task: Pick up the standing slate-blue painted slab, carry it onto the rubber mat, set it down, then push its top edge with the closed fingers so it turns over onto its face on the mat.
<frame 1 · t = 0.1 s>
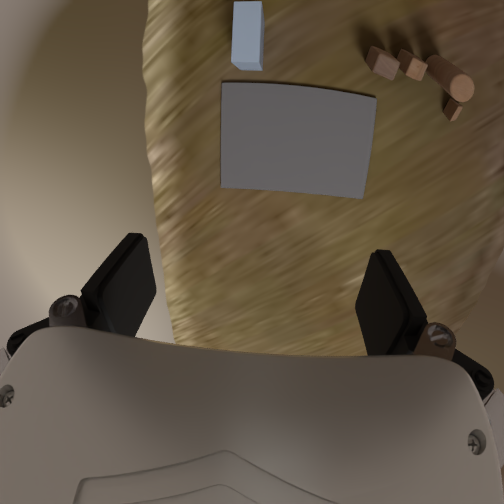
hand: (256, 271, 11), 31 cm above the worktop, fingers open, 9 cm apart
slab: (252, 45, 30), on the worktop
wooden block set: (417, 75, 29), on the worktop
mat: (298, 139, 37), on the worktop
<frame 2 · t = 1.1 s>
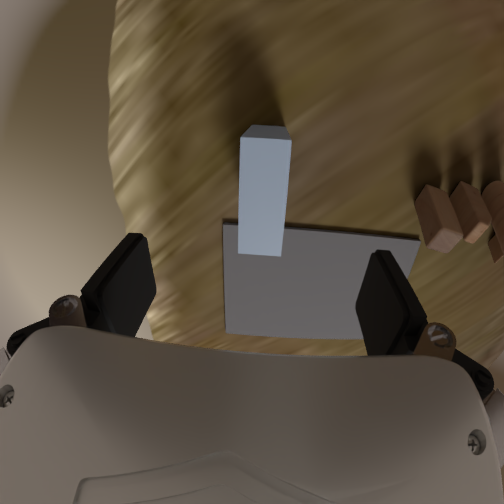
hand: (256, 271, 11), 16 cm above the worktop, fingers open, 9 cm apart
slab: (266, 167, 25), on the worktop
wooden block set: (470, 207, 25), on the worktop
mat: (318, 290, 32), on the worktop
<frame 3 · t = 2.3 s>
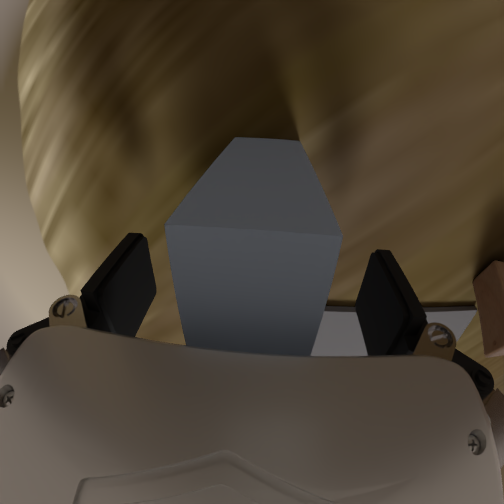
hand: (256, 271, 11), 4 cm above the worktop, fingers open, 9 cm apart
slab: (263, 215, 14), on the worktop
mat: (334, 372, 21), on the worktop
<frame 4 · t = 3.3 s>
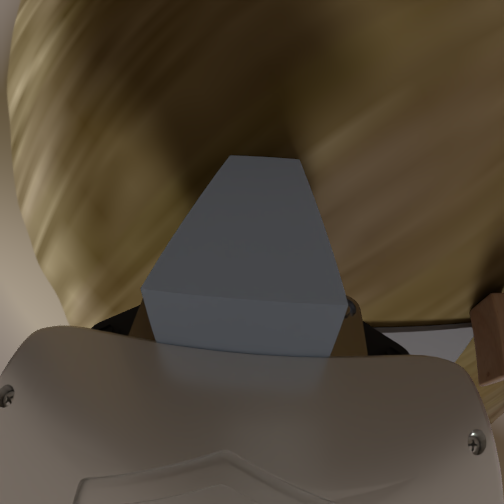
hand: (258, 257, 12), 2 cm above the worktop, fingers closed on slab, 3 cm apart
slab: (260, 237, 13), on the worktop, touching gripper
mat: (333, 389, 21), on the worktop
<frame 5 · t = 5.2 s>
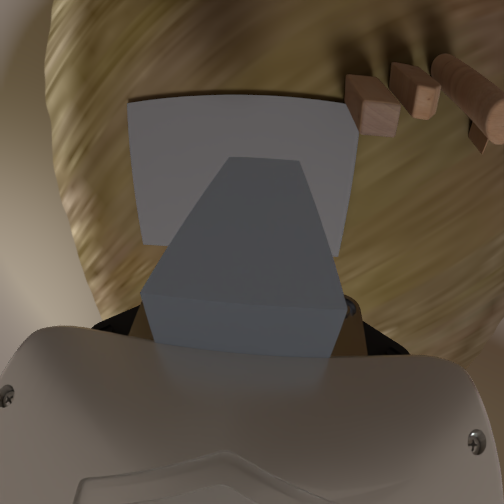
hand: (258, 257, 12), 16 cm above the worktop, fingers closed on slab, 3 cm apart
slab: (260, 239, 13), point 14 cm above the worktop, touching gripper
wooden block set: (424, 95, 20), on the worktop
mat: (238, 176, 26), on the worktop
when the fingers open (3 cm above the worktop, at t = 7.4 s): slab stays where it is, resting on mat.
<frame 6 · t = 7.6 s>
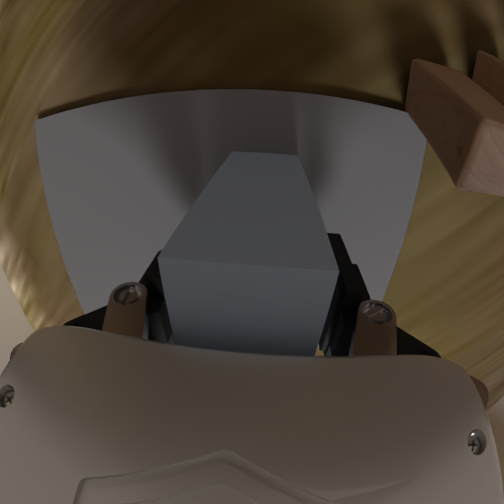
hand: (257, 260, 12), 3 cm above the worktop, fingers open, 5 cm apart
slab: (260, 230, 14), resting on mat
mat: (206, 239, 15), on the worktop
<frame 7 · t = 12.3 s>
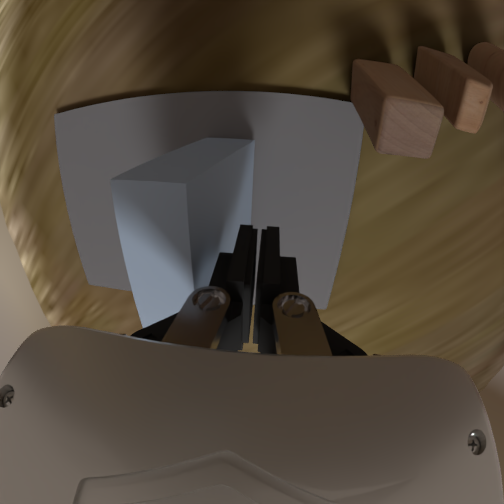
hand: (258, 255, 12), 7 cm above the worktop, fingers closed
slab: (229, 199, 18), point 1 cm above the worktop, tilted 9°, touching gripper, mat
wooden block set: (458, 95, 13), on the worktop
mat: (188, 207, 19), on the worktop
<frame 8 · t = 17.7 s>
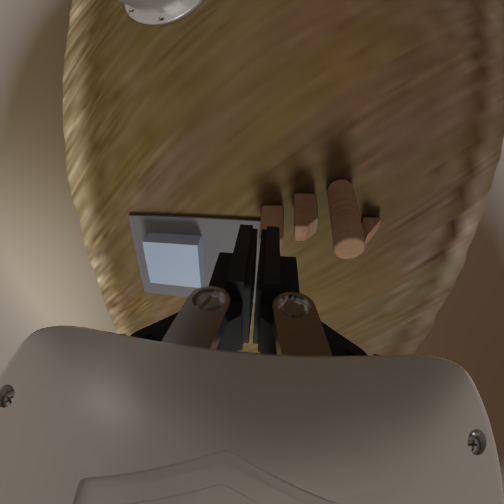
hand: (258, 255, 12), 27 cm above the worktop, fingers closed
slab: (201, 262, 43), point 2 cm above the worktop, tilted 90°, touching mat
wooden block set: (322, 207, 39), on the worktop
mat: (196, 260, 46), on the worktop
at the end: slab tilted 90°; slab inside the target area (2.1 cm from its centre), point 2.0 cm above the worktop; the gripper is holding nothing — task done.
